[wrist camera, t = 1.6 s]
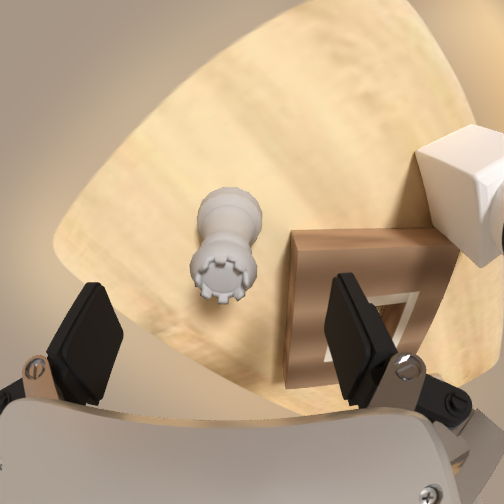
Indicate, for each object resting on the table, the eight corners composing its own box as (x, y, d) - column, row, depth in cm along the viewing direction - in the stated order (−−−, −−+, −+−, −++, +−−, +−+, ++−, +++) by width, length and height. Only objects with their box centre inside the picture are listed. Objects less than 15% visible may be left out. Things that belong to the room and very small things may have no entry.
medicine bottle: (483, 194, 18) (572, 261, 8) (431, 226, 20) (520, 316, 10) (470, 122, 15) (584, 166, 5) (412, 149, 17) (537, 214, 6)
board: (397, 351, 28) (406, 370, 25) (282, 366, 28) (285, 389, 25) (442, 228, 20) (461, 244, 17) (291, 230, 20) (297, 251, 17)
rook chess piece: (222, 253, 21) (212, 330, 14) (186, 207, 19) (153, 270, 12) (274, 223, 20) (288, 294, 13) (239, 172, 18) (234, 219, 11)
